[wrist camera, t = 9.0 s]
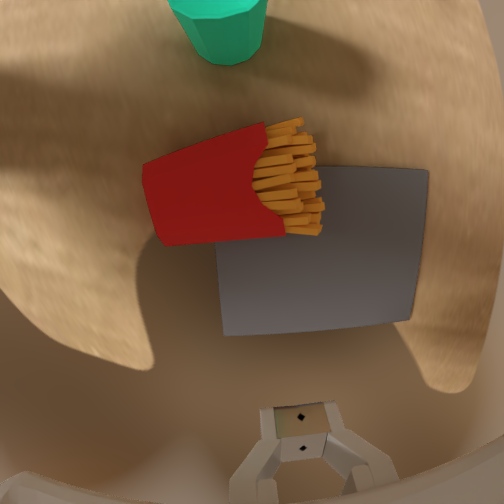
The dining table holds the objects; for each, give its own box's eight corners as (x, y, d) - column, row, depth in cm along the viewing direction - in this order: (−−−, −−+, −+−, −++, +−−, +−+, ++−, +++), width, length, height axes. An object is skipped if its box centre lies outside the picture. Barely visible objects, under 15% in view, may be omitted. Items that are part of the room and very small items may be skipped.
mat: (224, 333, 31) (223, 336, 30) (209, 170, 25) (209, 170, 25) (407, 317, 31) (409, 320, 30) (425, 169, 25) (428, 170, 25)
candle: (267, 62, 22) (282, 3, 11) (195, 71, 22) (156, 20, 11) (258, 4, 20) (266, -75, 9) (190, 13, 20) (154, -59, 9)
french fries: (134, 153, 21) (313, 112, 19) (154, 150, 25) (305, 116, 23) (166, 268, 24) (334, 238, 22) (180, 249, 28) (323, 222, 26)
